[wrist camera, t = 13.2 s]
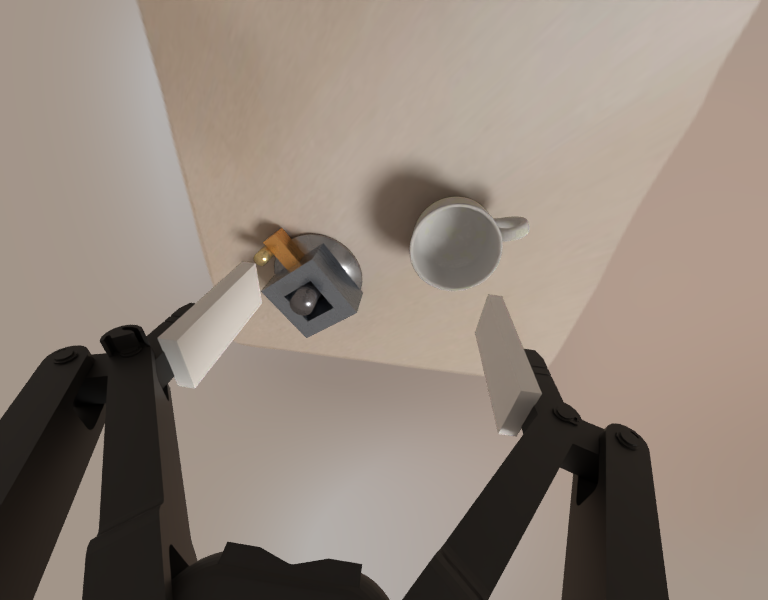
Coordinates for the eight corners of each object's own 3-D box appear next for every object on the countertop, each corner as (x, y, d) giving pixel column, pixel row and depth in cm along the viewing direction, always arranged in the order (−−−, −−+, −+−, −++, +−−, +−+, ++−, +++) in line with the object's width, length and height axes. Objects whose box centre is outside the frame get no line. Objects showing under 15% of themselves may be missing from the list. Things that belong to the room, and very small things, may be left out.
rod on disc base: (271, 228, 44) (242, 252, 37) (364, 240, 44) (353, 267, 37) (280, 305, 52) (258, 337, 45) (360, 316, 52) (350, 350, 45)
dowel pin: (268, 239, 46) (252, 253, 41) (279, 240, 45) (265, 254, 41) (269, 250, 47) (254, 264, 42) (280, 251, 46) (267, 266, 42)
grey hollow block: (362, 292, 48) (356, 312, 44) (316, 317, 52) (306, 338, 48) (300, 214, 42) (286, 227, 38) (253, 248, 46) (234, 264, 41)
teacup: (415, 266, 46) (414, 294, 39) (407, 193, 40) (404, 211, 33) (512, 257, 43) (528, 286, 37) (518, 178, 37) (539, 195, 31)
